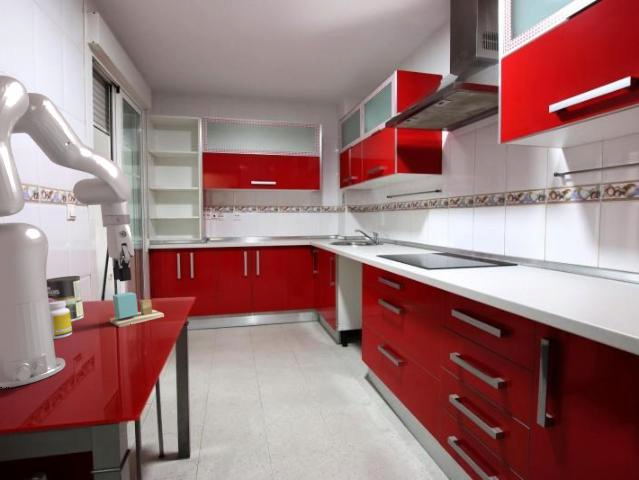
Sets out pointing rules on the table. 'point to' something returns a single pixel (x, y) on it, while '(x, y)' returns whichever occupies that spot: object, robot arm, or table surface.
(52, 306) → the supplement bottle
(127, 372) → the table surface
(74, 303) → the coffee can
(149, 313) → the post stand
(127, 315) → the pale teal cube
